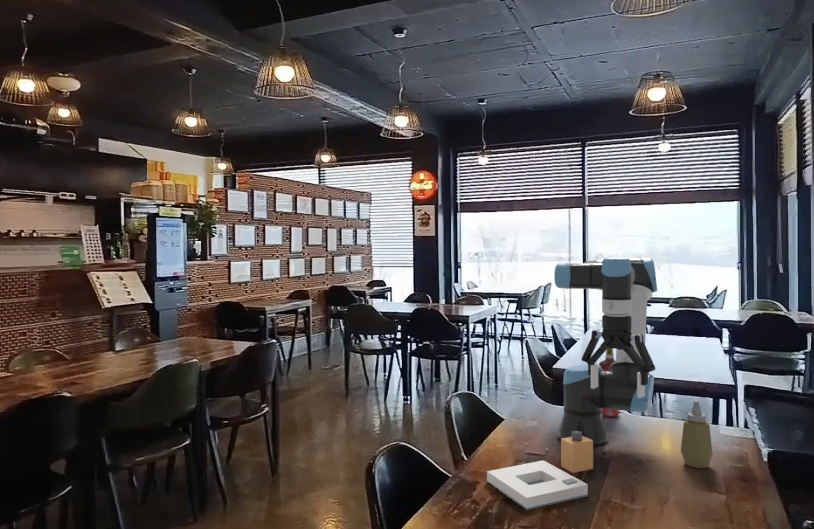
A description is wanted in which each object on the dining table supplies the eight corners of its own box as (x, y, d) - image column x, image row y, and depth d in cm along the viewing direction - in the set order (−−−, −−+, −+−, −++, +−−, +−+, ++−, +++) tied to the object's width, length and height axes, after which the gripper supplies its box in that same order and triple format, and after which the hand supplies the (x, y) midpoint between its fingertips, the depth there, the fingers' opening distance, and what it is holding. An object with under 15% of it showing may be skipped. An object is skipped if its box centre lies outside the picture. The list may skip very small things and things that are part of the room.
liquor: (599, 412, 218) (599, 336, 217) (620, 413, 215) (620, 337, 214) (598, 417, 211) (598, 340, 210) (620, 419, 208) (620, 340, 207)
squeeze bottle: (716, 471, 160) (716, 406, 160) (684, 469, 162) (684, 404, 161) (707, 460, 168) (707, 398, 168) (677, 459, 170) (677, 397, 169)
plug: (561, 466, 166) (561, 431, 165) (581, 462, 168) (580, 428, 168) (572, 473, 161) (572, 436, 161) (593, 468, 164) (592, 433, 163)
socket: (487, 482, 155) (486, 469, 155) (543, 471, 163) (543, 458, 162) (527, 510, 139) (526, 496, 139) (587, 496, 146) (587, 482, 146)
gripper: (568, 312, 166) (569, 386, 167) (655, 320, 148) (655, 403, 149) (583, 309, 171) (583, 381, 172) (668, 317, 153) (668, 397, 154)
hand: (617, 392), depth 161 cm, fingers open, 13 cm apart
